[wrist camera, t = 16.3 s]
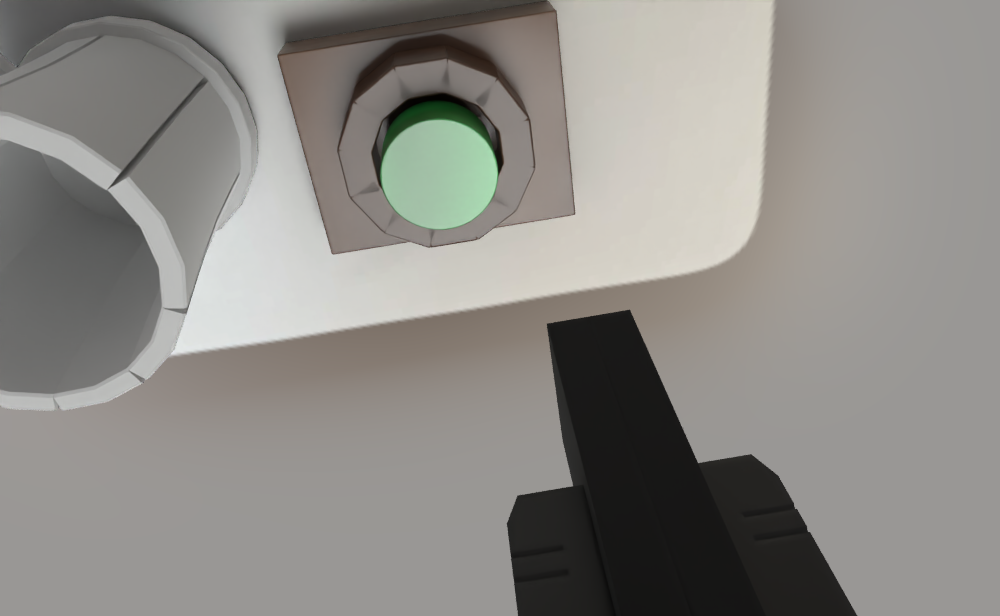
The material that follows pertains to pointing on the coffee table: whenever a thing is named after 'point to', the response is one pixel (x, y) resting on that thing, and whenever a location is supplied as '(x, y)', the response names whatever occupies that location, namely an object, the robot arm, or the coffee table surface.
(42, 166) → the cup
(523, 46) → the button block
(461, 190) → the light button
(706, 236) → the coffee table surface
